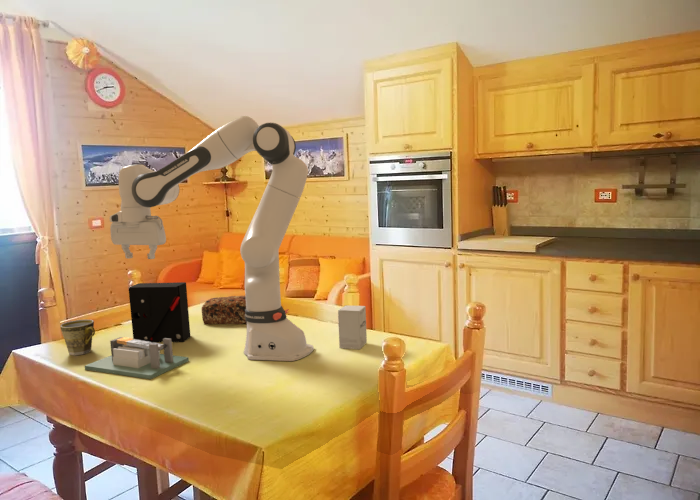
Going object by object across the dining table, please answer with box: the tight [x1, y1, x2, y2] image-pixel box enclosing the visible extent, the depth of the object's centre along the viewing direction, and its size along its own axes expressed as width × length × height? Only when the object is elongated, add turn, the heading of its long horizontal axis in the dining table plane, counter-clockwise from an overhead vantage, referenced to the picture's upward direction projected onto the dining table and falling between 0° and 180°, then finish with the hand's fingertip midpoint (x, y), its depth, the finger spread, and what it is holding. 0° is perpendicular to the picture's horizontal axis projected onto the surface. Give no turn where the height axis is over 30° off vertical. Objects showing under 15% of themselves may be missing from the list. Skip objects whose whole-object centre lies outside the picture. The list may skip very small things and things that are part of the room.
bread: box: [201, 295, 247, 325], centre depth 212 cm, size 19×11×10 cm, turn 82°
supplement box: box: [337, 305, 368, 350], centre depth 174 cm, size 7×7×13 cm
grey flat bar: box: [117, 336, 167, 351], centre depth 162 cm, size 17×4×1 cm, turn 66°
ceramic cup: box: [60, 319, 96, 356], centre depth 179 cm, size 13×10×10 cm
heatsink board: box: [84, 336, 190, 380], centre depth 164 cm, size 26×16×8 cm, turn 66°
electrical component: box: [128, 281, 191, 343], centre depth 189 cm, size 18×10×20 cm, turn 84°
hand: (140, 258), depth 174 cm, fingers open, 8 cm apart
